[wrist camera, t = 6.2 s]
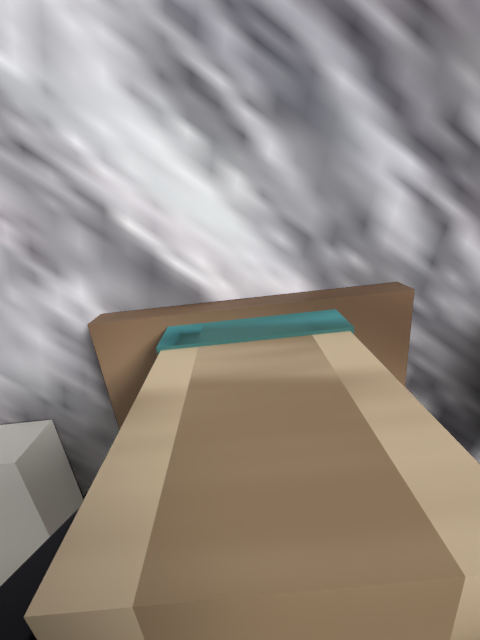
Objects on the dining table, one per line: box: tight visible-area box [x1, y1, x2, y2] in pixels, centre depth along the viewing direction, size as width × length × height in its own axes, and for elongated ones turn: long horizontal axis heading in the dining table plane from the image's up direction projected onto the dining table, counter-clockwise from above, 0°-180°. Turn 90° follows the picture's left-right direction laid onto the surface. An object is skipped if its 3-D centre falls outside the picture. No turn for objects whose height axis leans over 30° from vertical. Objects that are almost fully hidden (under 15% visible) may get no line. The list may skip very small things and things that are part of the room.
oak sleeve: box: [24, 309, 480, 640], centre depth 7 cm, size 5×5×7 cm
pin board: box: [88, 282, 415, 430], centre depth 10 cm, size 14×10×6 cm
